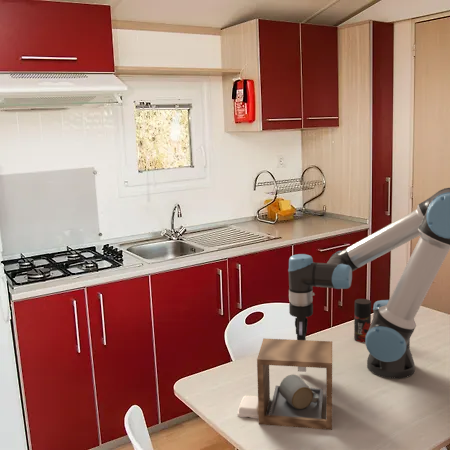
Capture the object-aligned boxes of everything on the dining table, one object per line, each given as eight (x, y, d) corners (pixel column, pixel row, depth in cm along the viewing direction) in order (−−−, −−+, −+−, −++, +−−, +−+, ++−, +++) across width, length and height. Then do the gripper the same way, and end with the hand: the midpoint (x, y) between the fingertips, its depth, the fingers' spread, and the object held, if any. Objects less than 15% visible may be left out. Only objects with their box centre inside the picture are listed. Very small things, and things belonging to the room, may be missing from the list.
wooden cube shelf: (332, 403, 160) (332, 341, 156) (332, 430, 146) (332, 363, 142) (264, 398, 164) (263, 338, 160) (258, 424, 150) (257, 359, 146)
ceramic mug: (292, 413, 153) (292, 388, 152) (278, 400, 161) (278, 376, 159) (324, 405, 157) (324, 381, 156) (309, 392, 165) (309, 369, 163)
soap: (241, 401, 163) (241, 392, 162) (264, 403, 162) (264, 394, 161) (236, 417, 154) (235, 408, 154) (259, 419, 153) (259, 410, 152)
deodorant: (354, 342, 201) (354, 303, 198) (354, 335, 207) (354, 298, 204) (370, 342, 200) (371, 304, 197) (370, 336, 206) (370, 299, 203)
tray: (322, 394, 165) (322, 388, 165) (321, 425, 149) (321, 419, 148) (275, 390, 168) (275, 385, 168) (269, 420, 152) (268, 415, 151)
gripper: (312, 309, 166) (313, 380, 171) (313, 296, 179) (313, 362, 183) (288, 309, 167) (289, 379, 172) (290, 295, 180) (291, 361, 185)
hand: (301, 370), depth 178 cm, fingers closed
